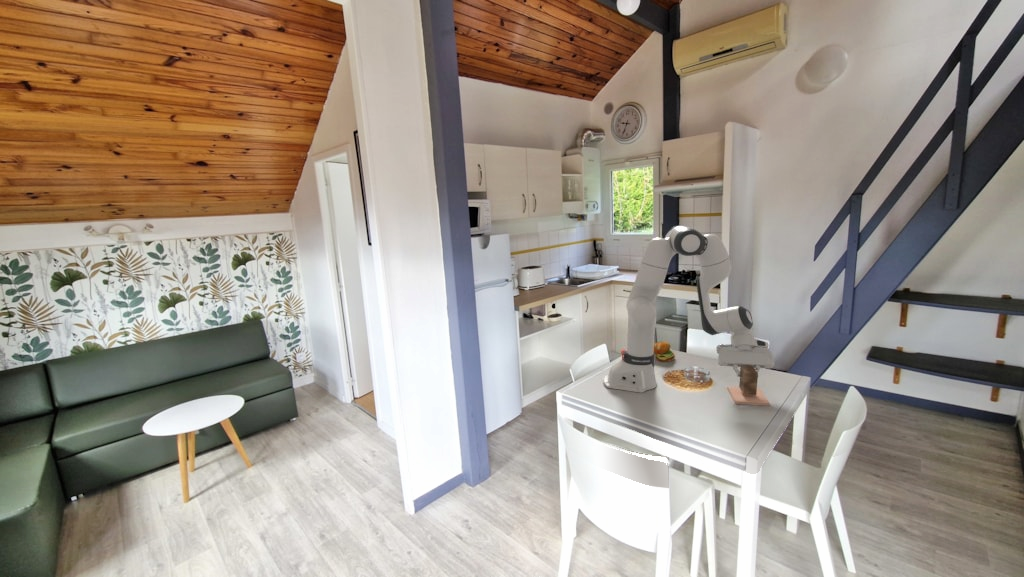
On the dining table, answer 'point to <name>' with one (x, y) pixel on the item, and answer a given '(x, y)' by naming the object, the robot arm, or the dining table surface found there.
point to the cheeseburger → (663, 351)
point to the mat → (747, 397)
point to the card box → (748, 380)
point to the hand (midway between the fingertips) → (747, 376)
